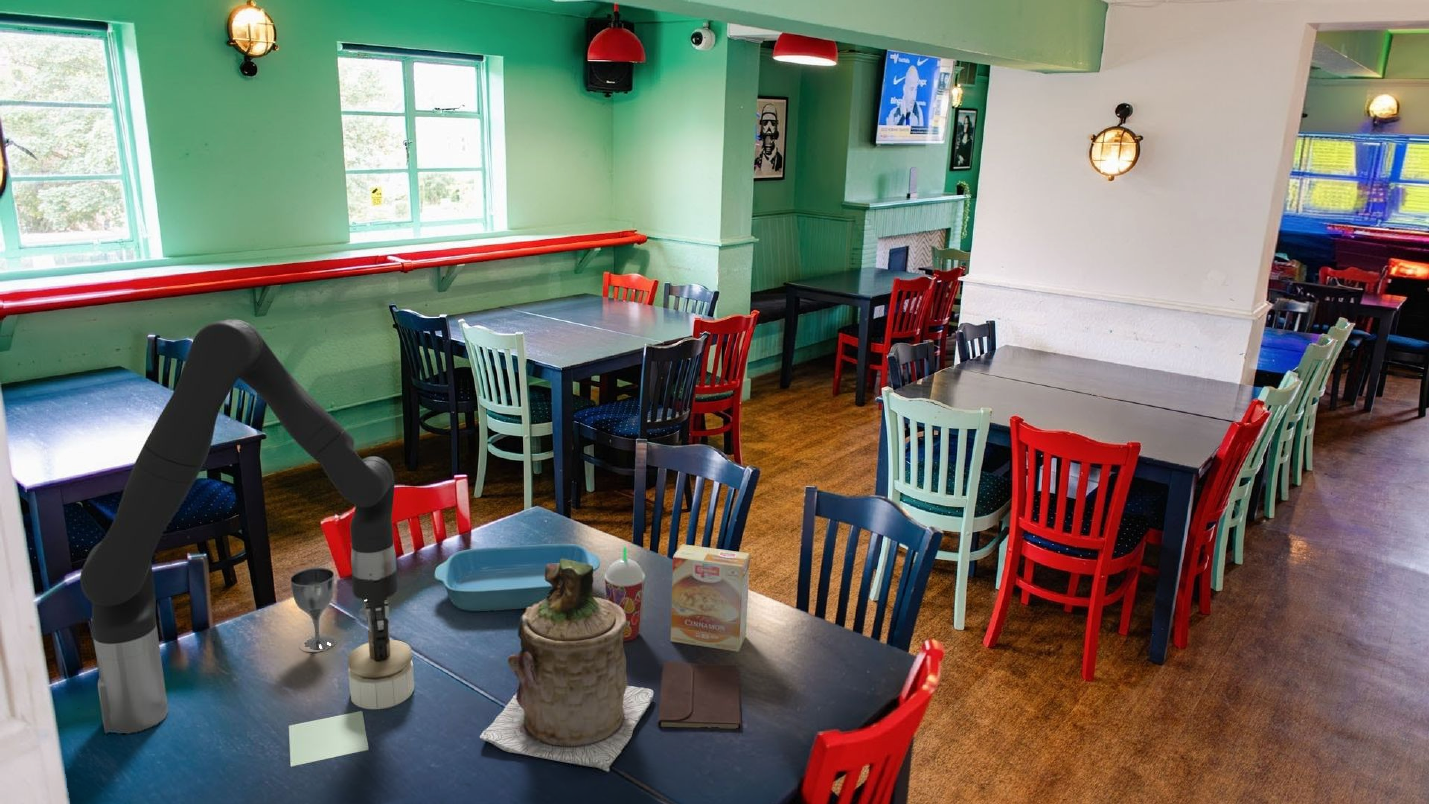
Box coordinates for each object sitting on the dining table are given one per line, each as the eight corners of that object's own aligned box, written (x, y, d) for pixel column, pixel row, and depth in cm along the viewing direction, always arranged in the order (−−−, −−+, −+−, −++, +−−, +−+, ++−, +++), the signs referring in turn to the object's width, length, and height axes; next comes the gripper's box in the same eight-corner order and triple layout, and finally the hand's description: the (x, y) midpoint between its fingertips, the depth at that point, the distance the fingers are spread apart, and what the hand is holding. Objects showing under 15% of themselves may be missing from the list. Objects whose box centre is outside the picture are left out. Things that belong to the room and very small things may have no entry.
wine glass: (310, 658, 187) (304, 589, 183) (289, 644, 191) (282, 577, 187) (346, 642, 193) (341, 575, 189) (325, 629, 198) (319, 564, 194)
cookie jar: (658, 697, 178) (661, 540, 170) (610, 778, 155) (611, 601, 147) (538, 674, 184) (535, 522, 176) (474, 749, 161) (468, 577, 153)
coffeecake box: (669, 642, 198) (671, 556, 193) (678, 626, 204) (681, 542, 199) (739, 653, 194) (743, 566, 189) (746, 636, 201) (750, 552, 196)
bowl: (353, 718, 168) (351, 688, 167) (348, 686, 178) (346, 657, 176) (417, 705, 173) (416, 676, 171) (409, 674, 182) (408, 646, 181)
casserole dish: (432, 621, 203) (430, 591, 201) (439, 576, 224) (438, 548, 222) (604, 610, 211) (604, 581, 209) (595, 567, 232) (595, 540, 230)
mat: (291, 770, 154) (290, 766, 154) (289, 729, 164) (288, 725, 164) (368, 753, 159) (368, 749, 159) (362, 714, 169) (362, 710, 169)
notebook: (738, 671, 188) (738, 662, 188) (741, 731, 169) (741, 721, 169) (662, 669, 188) (663, 660, 188) (657, 728, 169) (657, 719, 169)
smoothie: (646, 626, 203) (648, 541, 198) (640, 646, 195) (641, 557, 190) (608, 623, 204) (609, 538, 199) (600, 643, 196) (600, 554, 191)
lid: (350, 682, 166) (348, 650, 165) (346, 651, 176) (343, 621, 174) (415, 669, 171) (414, 639, 169) (407, 641, 181) (406, 611, 179)
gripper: (348, 555, 173) (354, 639, 178) (355, 588, 161) (361, 678, 165) (391, 549, 176) (396, 632, 181) (401, 581, 164) (406, 670, 168)
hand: (379, 654), depth 173 cm, fingers closed on lid, 3 cm apart
